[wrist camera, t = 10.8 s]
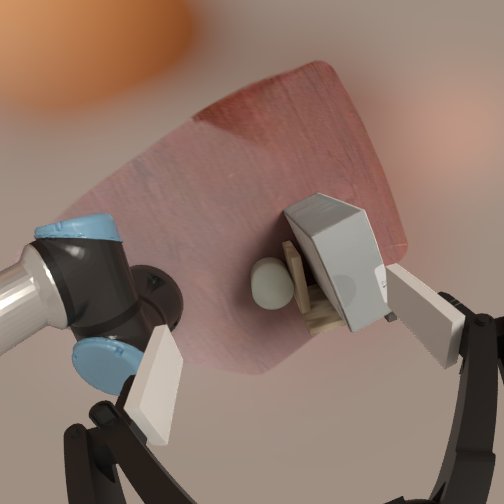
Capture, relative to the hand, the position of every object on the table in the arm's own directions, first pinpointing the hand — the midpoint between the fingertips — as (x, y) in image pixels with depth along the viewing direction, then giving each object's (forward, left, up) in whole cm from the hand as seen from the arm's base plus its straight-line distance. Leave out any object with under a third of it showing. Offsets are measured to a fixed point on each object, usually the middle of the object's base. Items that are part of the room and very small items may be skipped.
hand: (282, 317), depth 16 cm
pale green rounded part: (+1, -13, -37) cm, 39 cm away
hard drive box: (+11, -8, -37) cm, 39 cm away
